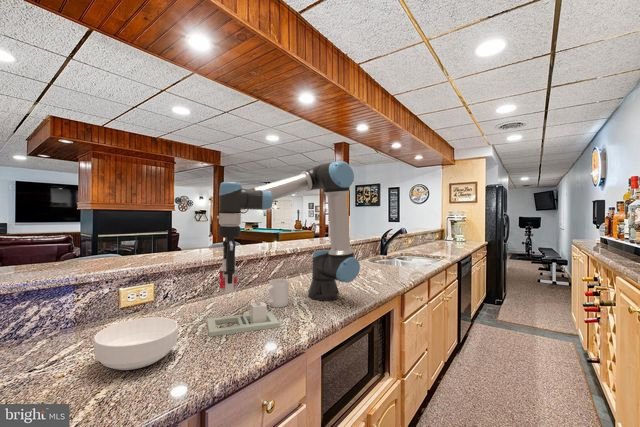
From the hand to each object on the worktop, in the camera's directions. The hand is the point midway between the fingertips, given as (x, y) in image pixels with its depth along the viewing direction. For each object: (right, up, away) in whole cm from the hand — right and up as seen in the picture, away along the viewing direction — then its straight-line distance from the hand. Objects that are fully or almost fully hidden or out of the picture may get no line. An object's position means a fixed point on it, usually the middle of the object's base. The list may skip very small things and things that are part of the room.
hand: (228, 289), depth 106 cm
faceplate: (+5, -13, +2) cm, 14 cm away
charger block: (+10, -14, +5) cm, 17 cm away
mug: (+13, -14, +25) cm, 32 cm away
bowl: (-17, -13, -24) cm, 33 cm away
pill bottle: (0, -1, 0) cm, 1 cm away
